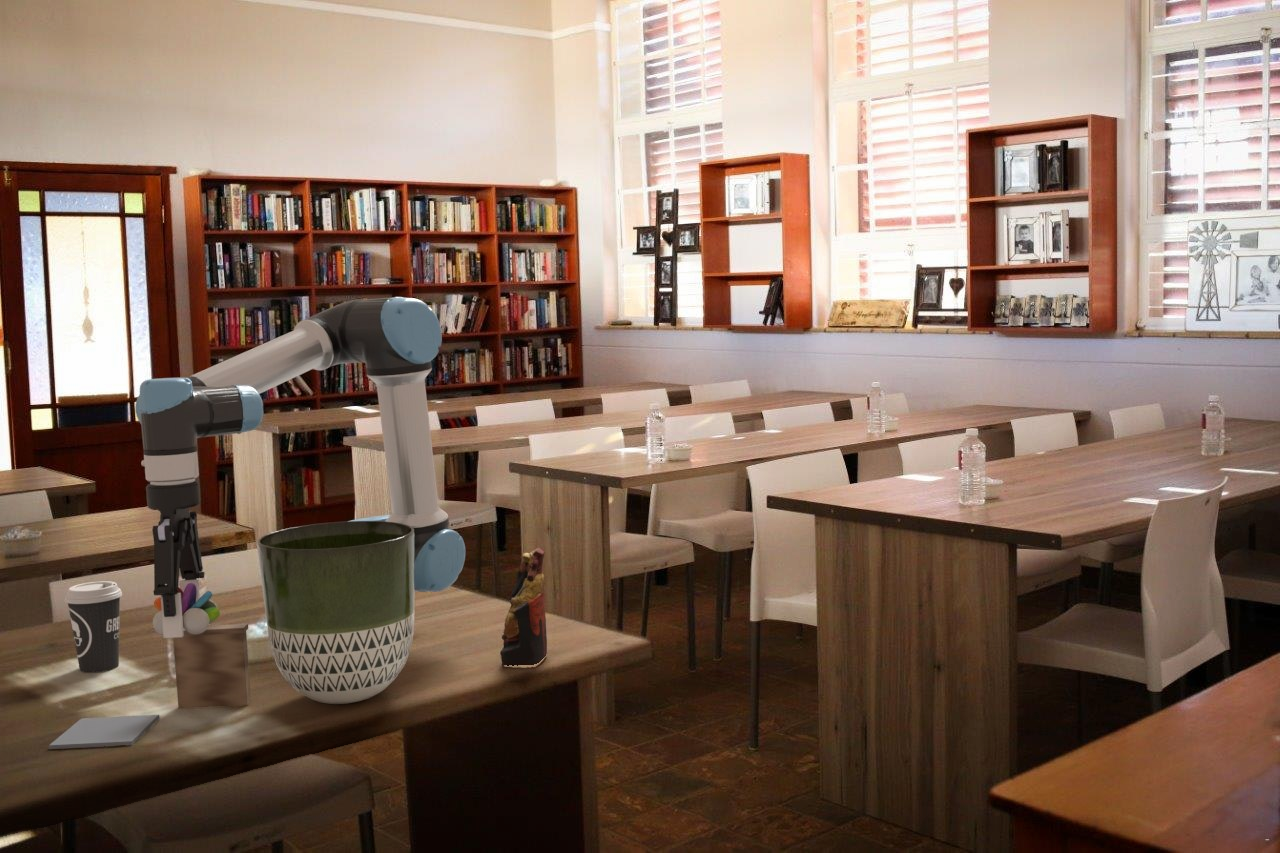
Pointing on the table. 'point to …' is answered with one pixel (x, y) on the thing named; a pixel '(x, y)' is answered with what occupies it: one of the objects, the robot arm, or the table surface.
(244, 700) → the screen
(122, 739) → the pad
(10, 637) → the table surface
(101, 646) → the coffee cup
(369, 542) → the planter
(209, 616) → the rainbow petal cluster
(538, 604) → the statue
